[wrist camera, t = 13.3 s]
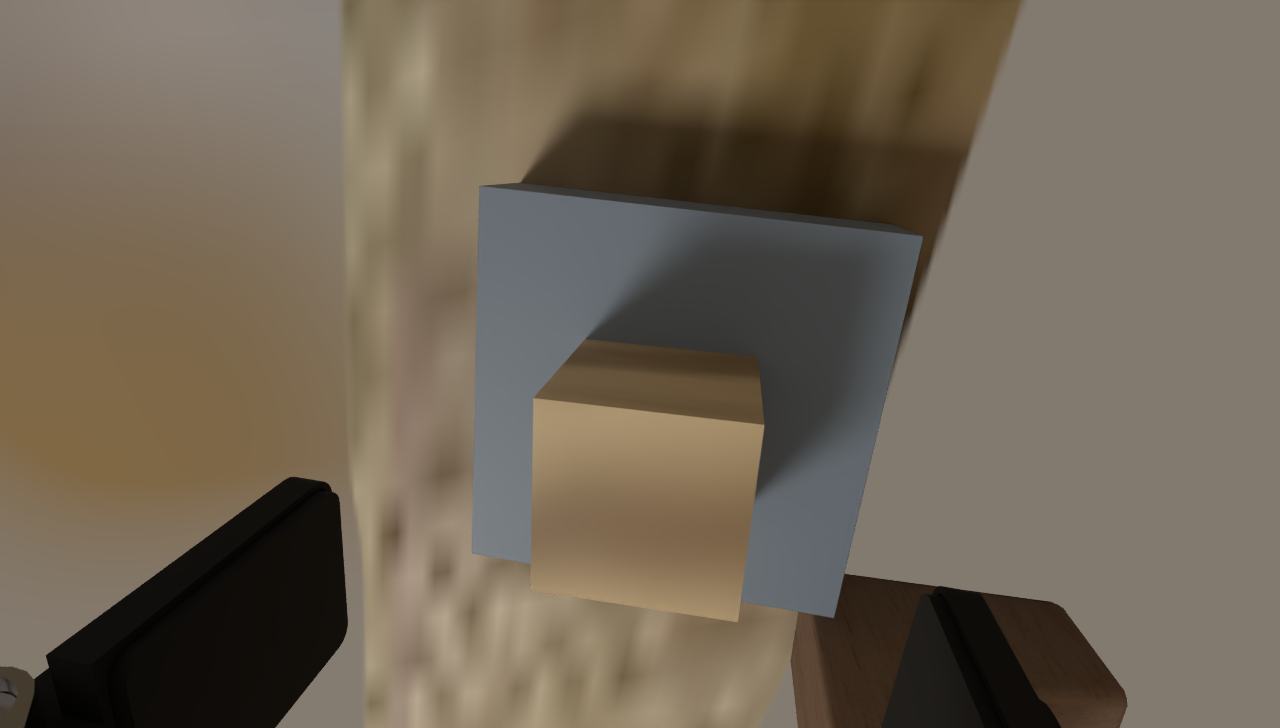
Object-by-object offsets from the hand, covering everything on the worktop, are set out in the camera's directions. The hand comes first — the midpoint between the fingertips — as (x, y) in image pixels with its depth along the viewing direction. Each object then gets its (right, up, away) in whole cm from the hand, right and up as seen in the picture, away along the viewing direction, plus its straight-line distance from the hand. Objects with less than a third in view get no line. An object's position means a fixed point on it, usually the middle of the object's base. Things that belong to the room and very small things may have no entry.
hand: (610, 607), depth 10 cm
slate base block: (+2, +3, +13) cm, 13 cm away
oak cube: (+1, +2, +9) cm, 9 cm away
